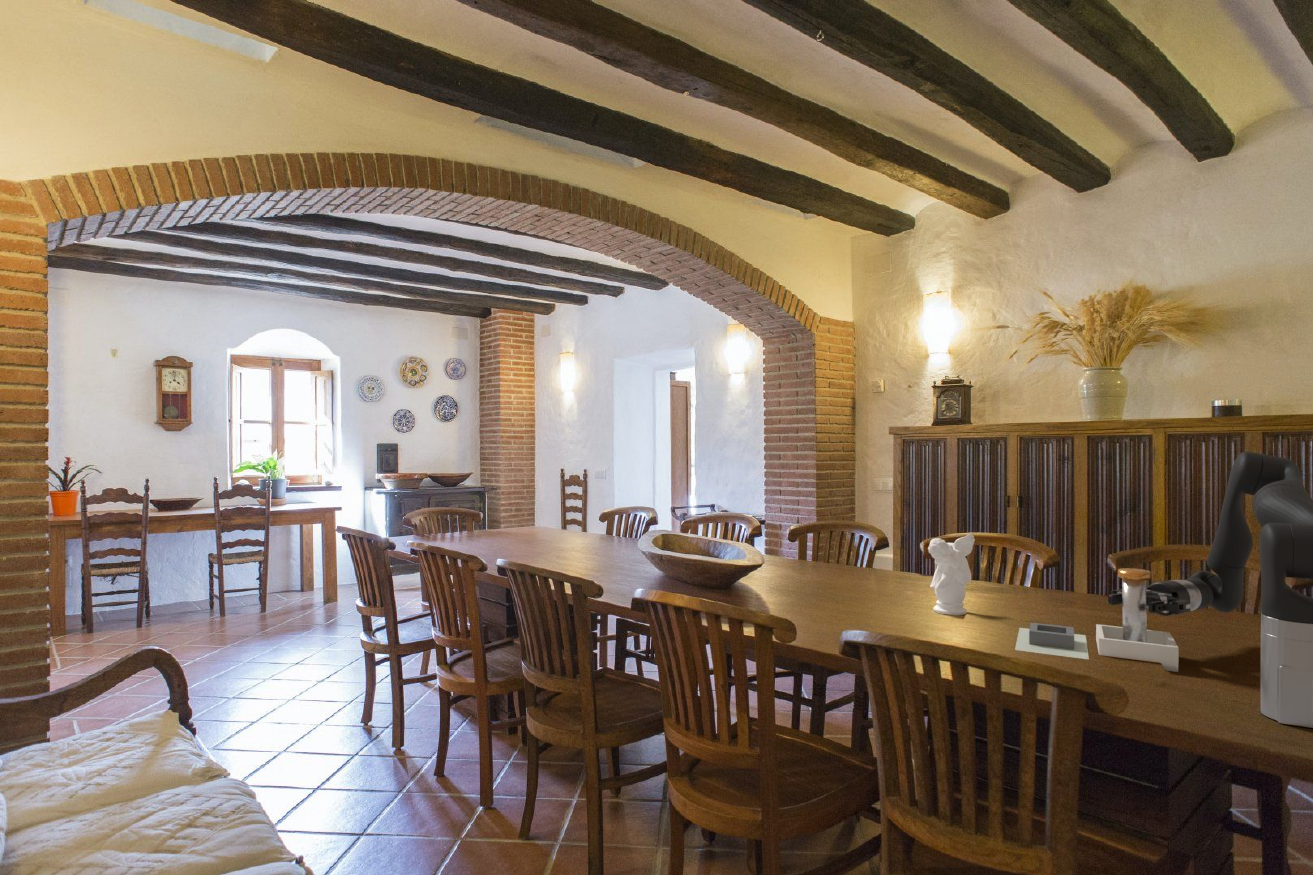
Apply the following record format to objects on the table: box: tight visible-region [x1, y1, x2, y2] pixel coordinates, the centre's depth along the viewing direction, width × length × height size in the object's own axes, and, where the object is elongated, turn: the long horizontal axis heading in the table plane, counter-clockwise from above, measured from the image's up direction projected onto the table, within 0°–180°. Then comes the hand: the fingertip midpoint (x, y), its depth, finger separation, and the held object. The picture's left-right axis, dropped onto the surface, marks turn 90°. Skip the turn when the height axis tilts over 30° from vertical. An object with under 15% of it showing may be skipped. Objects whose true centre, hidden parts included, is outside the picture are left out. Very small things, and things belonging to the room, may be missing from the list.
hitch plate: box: [1014, 622, 1090, 660], centre depth 168 cm, size 22×14×4 cm, turn 151°
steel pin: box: [1117, 567, 1152, 643], centre depth 161 cm, size 6×6×18 cm
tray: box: [1095, 623, 1180, 673], centre depth 161 cm, size 14×14×5 cm
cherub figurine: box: [927, 532, 976, 616], centre depth 206 cm, size 12×12×22 cm
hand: (1129, 603), depth 161 cm, fingers open, 8 cm apart
